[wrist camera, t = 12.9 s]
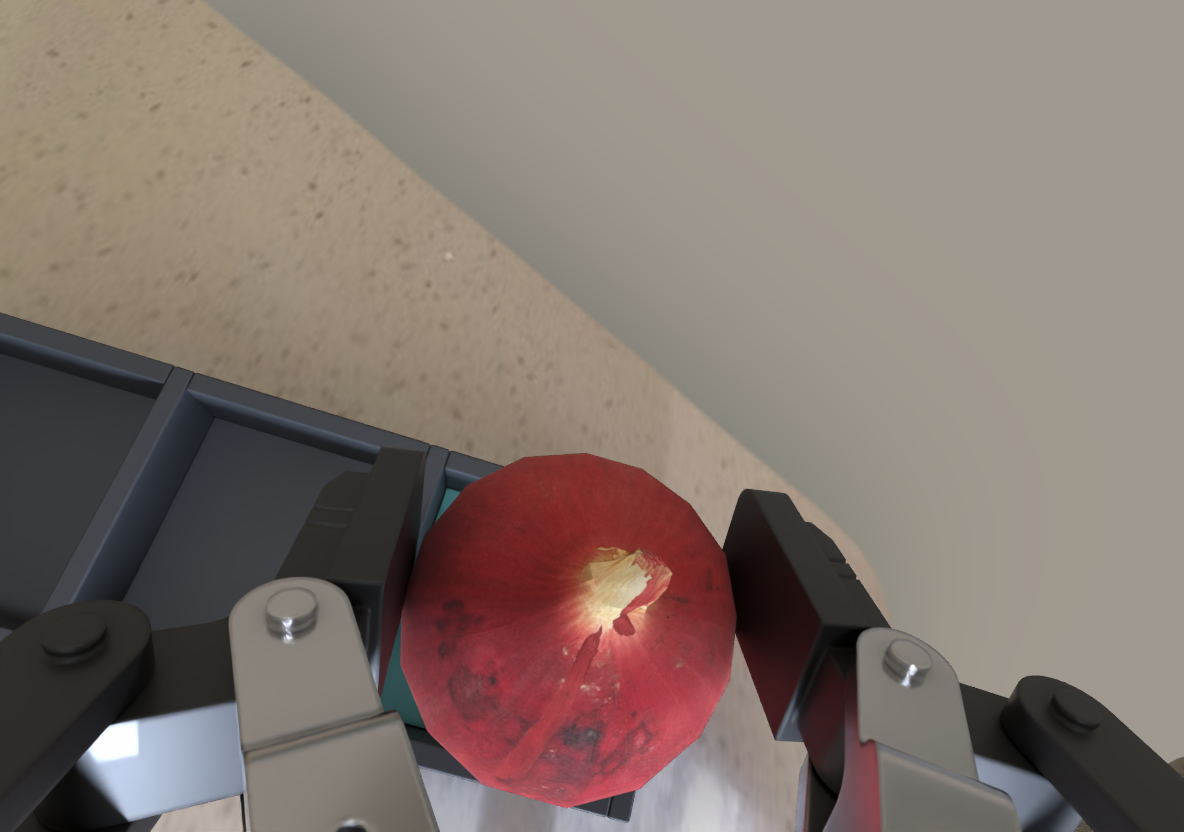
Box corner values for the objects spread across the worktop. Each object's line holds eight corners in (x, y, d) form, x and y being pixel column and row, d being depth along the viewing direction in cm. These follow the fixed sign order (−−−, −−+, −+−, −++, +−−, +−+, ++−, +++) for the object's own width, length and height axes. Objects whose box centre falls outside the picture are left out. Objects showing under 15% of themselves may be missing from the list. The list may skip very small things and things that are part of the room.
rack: (663, 539, 24) (692, 523, 21) (605, 798, 21) (629, 824, 18) (-20, 333, 22) (-99, 281, 19) (-189, 583, 19) (-314, 570, 16)
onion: (636, 796, 15) (814, 938, 7) (375, 729, 14) (283, 809, 7) (686, 537, 17) (864, 443, 9) (461, 472, 16) (462, 318, 9)
